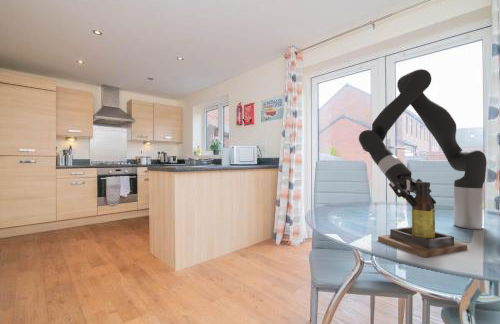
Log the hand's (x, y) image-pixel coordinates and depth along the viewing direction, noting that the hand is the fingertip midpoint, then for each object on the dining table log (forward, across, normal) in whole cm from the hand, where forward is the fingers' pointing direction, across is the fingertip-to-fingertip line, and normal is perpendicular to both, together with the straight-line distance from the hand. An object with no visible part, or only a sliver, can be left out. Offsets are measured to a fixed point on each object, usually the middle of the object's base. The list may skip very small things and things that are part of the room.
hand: (425, 205), depth 79 cm
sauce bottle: (+8, 0, +9) cm, 12 cm away
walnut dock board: (+9, 0, +11) cm, 14 cm away
